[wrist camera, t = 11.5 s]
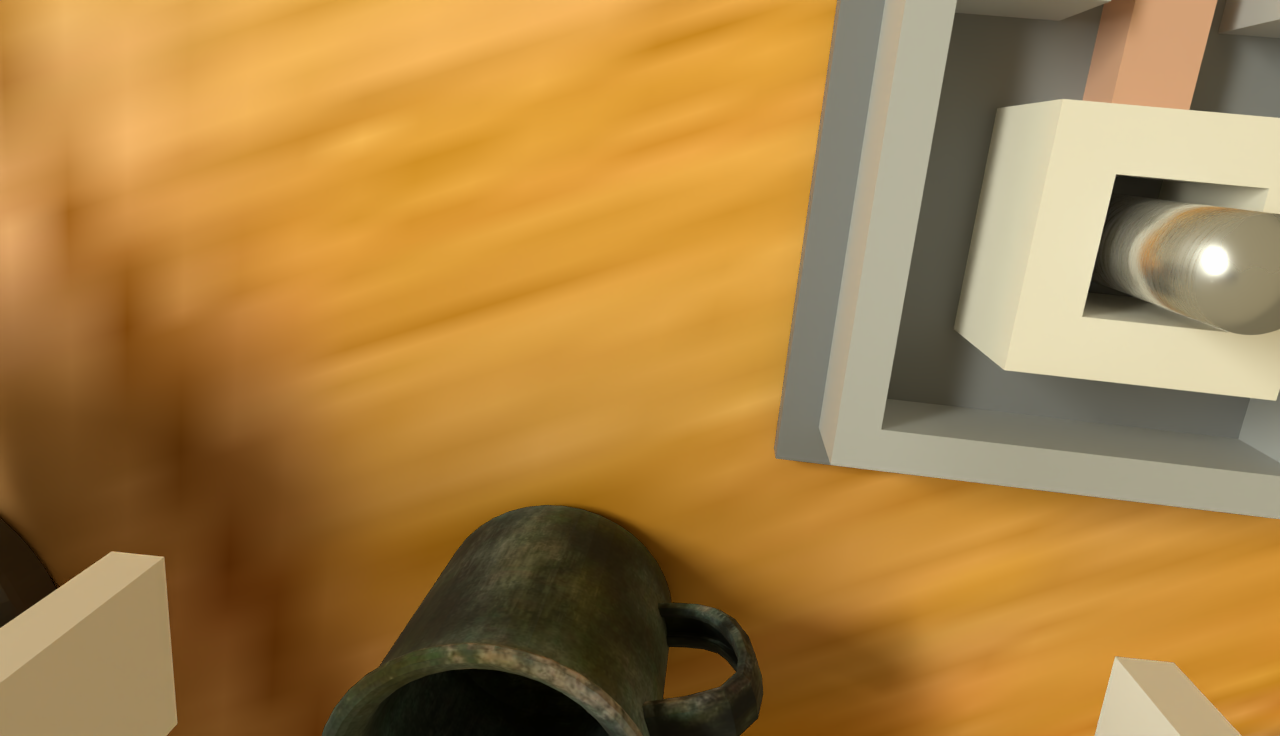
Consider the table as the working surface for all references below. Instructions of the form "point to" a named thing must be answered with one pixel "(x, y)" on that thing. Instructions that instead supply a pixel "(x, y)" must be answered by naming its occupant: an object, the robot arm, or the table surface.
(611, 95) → the table surface
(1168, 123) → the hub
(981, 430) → the grey walled tray
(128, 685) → the robot arm
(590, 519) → the mug
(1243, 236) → the post
